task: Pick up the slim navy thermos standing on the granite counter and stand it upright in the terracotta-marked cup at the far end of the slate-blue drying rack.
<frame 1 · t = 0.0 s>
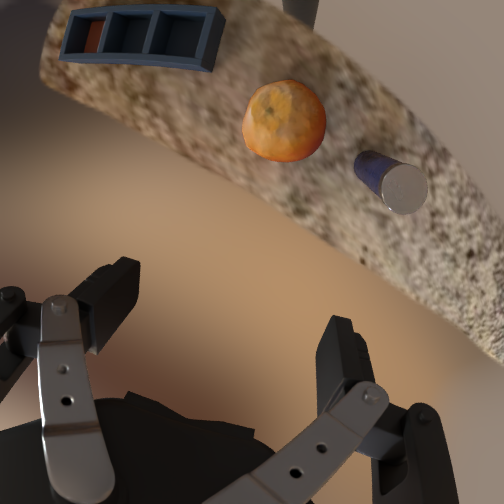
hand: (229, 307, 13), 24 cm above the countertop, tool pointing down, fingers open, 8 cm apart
thermos: (369, 166, 32), on the countertop
fruit: (285, 122, 32), on the countertop
rack: (144, 39, 29), on the countertop
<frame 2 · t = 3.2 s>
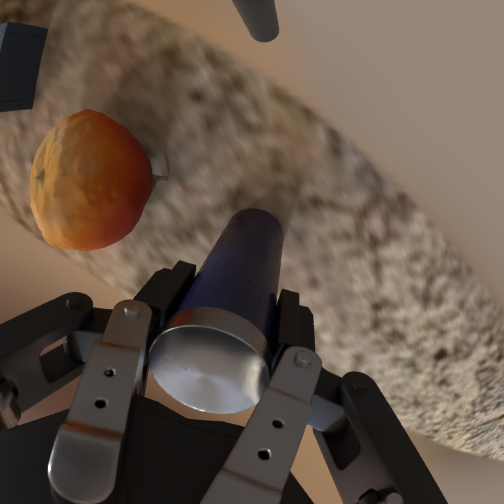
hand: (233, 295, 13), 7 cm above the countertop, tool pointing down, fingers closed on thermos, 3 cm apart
thermos: (254, 236, 20), on the countertop, touching gripper
fruit: (116, 170, 20), on the countertop
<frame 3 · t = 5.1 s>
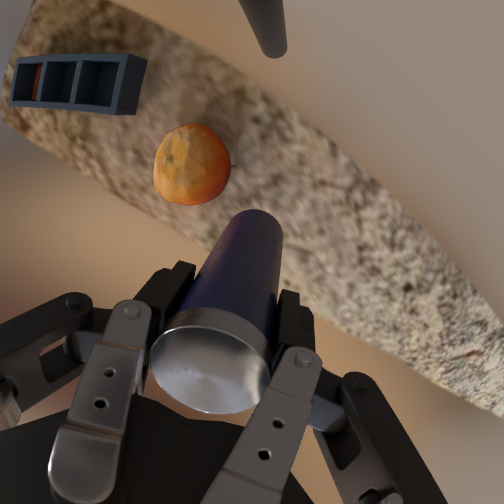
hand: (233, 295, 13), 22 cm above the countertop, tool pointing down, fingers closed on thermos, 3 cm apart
thermos: (254, 236, 20), point 15 cm above the countertop, touching gripper
fruit: (201, 161, 33), on the countertop
rack: (80, 82, 31), on the countertop
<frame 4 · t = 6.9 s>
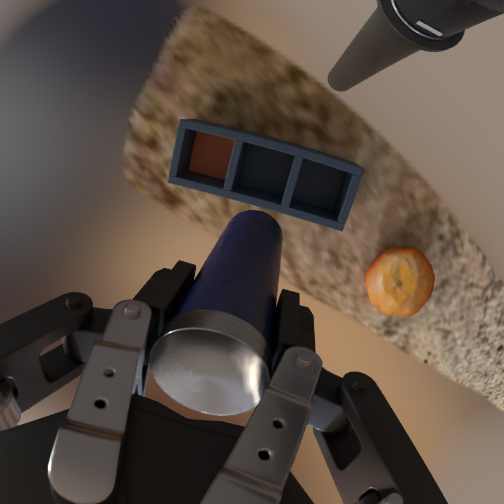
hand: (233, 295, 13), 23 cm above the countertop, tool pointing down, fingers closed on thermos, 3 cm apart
thermos: (253, 237, 20), point 16 cm above the countertop, touching gripper
fruit: (392, 267, 37), on the countertop
rack: (266, 166, 34), on the countertop
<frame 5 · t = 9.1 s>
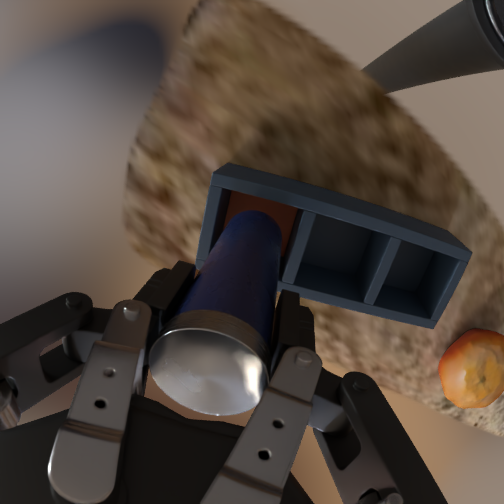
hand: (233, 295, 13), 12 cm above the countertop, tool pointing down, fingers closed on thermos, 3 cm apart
thermos: (253, 237, 20), point 4 cm above the countertop, touching gripper
fruit: (465, 345, 26), on the countertop
rack: (334, 236, 24), on the countertop
when the fingers open (8 cm above the countertop, at t = 10.5 s): thermos stays where it is, resting on rack.
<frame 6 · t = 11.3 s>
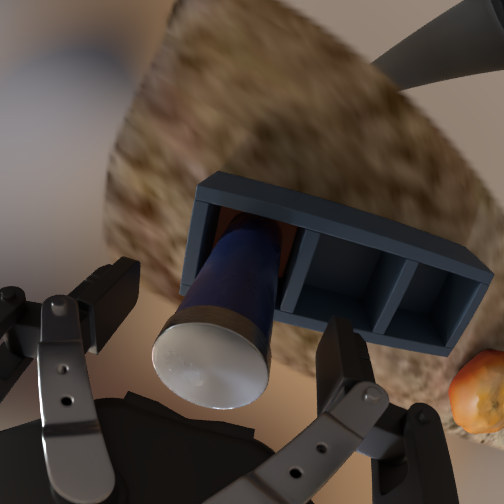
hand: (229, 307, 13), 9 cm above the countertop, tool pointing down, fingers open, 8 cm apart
thermos: (254, 237, 20), point 1 cm above the countertop, touching rack
fruit: (476, 365, 23), on the countertop
rack: (340, 254, 21), on the countertop
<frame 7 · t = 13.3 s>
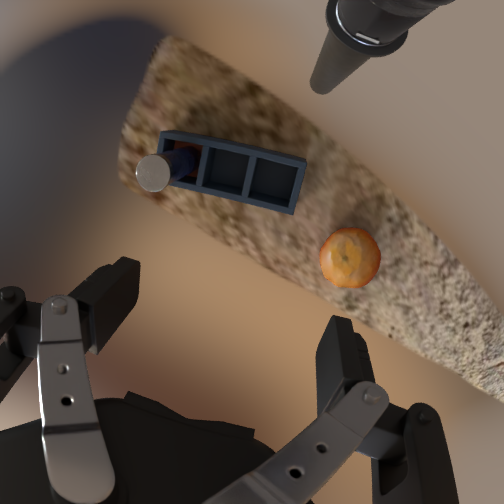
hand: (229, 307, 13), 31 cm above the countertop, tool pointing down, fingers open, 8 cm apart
thermos: (189, 158, 41), point 1 cm above the countertop, touching rack
fruit: (346, 247, 44), on the countertop
rack: (232, 166, 41), on the countertop
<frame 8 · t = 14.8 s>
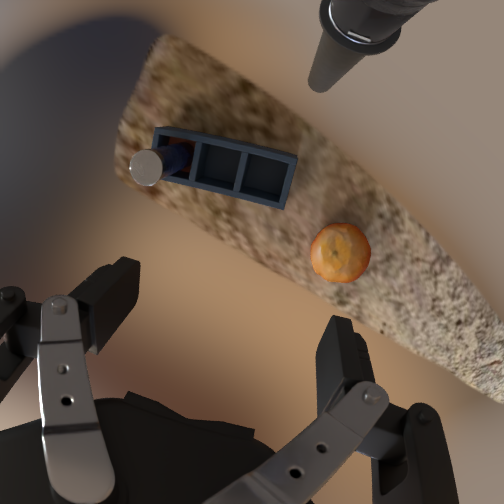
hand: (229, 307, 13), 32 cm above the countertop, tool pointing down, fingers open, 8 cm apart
thermos: (183, 154, 42), point 1 cm above the countertop, touching rack
fruit: (337, 242, 45), on the countertop
rack: (225, 161, 42), on the countertop
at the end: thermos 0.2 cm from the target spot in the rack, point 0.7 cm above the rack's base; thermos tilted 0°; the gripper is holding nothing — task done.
